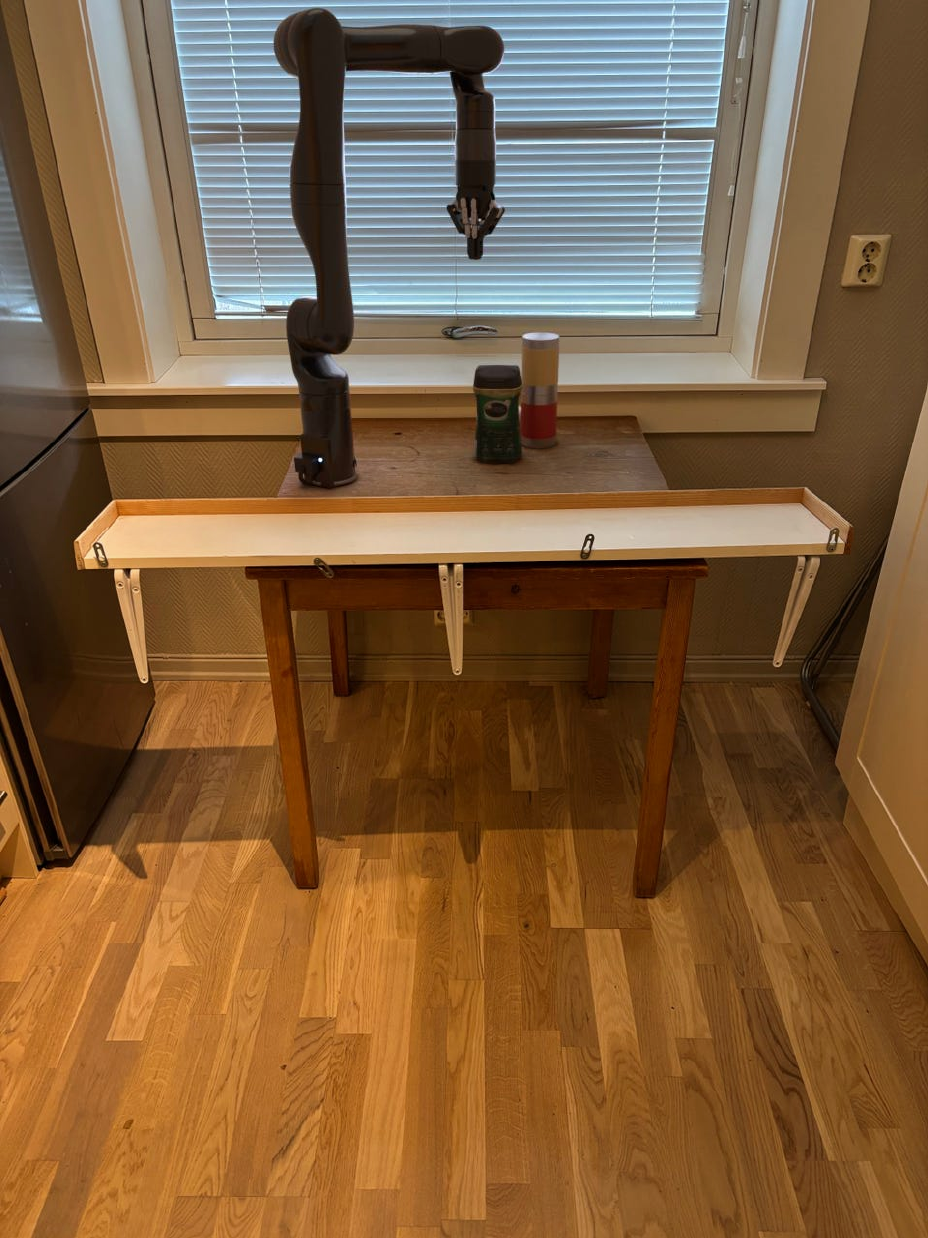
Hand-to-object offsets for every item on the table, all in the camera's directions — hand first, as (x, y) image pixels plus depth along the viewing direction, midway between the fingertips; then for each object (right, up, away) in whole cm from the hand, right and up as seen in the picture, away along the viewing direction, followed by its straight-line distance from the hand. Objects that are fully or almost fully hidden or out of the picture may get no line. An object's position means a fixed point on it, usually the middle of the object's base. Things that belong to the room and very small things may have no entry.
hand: (474, 258), depth 174 cm
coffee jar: (+5, -36, +11) cm, 38 cm away
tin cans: (+14, -31, +19) cm, 39 cm away
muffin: (+8, -26, +29) cm, 40 cm away
